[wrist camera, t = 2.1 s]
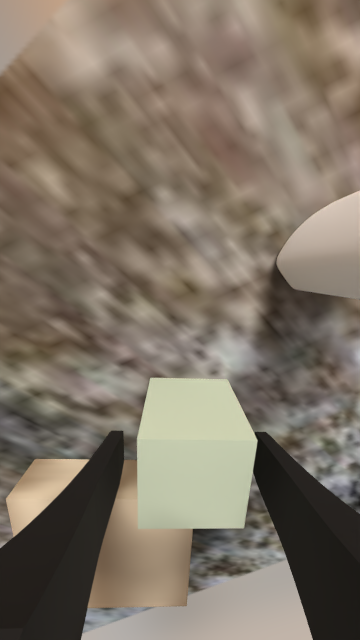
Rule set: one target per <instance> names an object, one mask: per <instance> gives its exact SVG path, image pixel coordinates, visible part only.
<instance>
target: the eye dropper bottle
mask: <svg viewBox="0 0 360 640" xmlns="http://www.w3.org/2000/svg"><path fill="white" fill-rule="evenodd" d="M276 263H277V267H278V269H279V270H280V272H281V274H282V275H283V276H284V278H285V279H286V281H287V282H288V283H289V285H290V286H291V287H292V288H294V289H296V290H301V291H307V292H314V293H320V294H327V295H333V296H340V297H346V298H353V299H360V191H358V192H355V193H353V194H351V195H348V196H346V197H344V198H342V199H339V200H337V201H335V202H333V203H331V204H329V205H328V206H326V207H324V208H322V209H321V210H319V211H318V212H316V213H315V214H313V215H312V216H311V217H310V218H308V219H307V220H306V221H305V222H304V223H303V224H302V225H300V226H299V227H298V229H297V230H296V231H295V232H294V233H293V234H292V235H291V237H290V238H289V239H288V241H287V242H286V243H285V245H284V246H283V248H282V250H281V251H280V253H279V255H278V257H277V262H276Z"/></svg>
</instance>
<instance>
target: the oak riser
mask: <svg viewBox="0 0 360 640" xmlns="http://www.w3.org/2000/svg"><path fill="white" fill-rule="evenodd" d="M88 461H89V460H79V459H35V460H34V461H33V463H32V464H31V466H30V467H29V468H28V470H27V471H26V472H25V474H24V475H23V476H22V478H21V479H20V481H19V482H18V483H17V485H16V486H15V487H14V489H13V490H12V491H11V493H10V494H9V496H8V497H7V498H6V501H7V506H8V511H9V516H10V521H11V526H12V531H13V535H14V536H16V535H17V534H18V533H19V532H20V531H21V530H22V529H24V528H25V527H26V526H27V525H28V524H29V523H30V522H31V521H32V520H33V519H34V518H35V517H37V516H38V515H39V514H40V513H41V512H42V511H43V510H44V509H45V508H46V507H47V506H48V505H49V504H50V503H51V502H52V501H53V500H54V499H55V498H56V497H57V496H58V495H59V494H60V493H61V492H62V491H63V490H64V489H65V488H66V486H67V485H68V484H69V483H70V482H71V481H72V480H73V479H74V477H75V476H76V475H77V474H78V473H79V472H80V471H81V469H82V468H83V467H84V466H85V465H86V463H87V462H88ZM192 533H193V529H138V489H137V460H124V465H123V470H122V475H121V480H120V485H119V488H118V492H117V495H116V499H115V502H114V506H113V509H112V512H111V516H110V519H109V522H108V526H107V529H106V532H105V536H104V539H103V543H102V546H101V550H100V554H99V558H98V563H97V567H96V571H95V576H94V580H93V585H92V589H91V594H90V599H89V603H88V608H113V607H164V606H166V607H167V606H187V595H188V583H189V570H190V558H191V545H192Z"/></svg>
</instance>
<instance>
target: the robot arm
mask: <svg viewBox="0 0 360 640" xmlns="http://www.w3.org/2000/svg"><path fill="white" fill-rule="evenodd" d="M255 436H256V438H257V440H258V441H257V447H256V454H255V460H254V467H253V472H254V476H255V479H256V482H257V485H258V488H259V490H260V492H261V495H262V497H263V500H264V502H265V505H266V507H267V509H268V512H269V514H270V517H271V519H272V521H273V524H274V526H275V529H276V531H277V533H278V536H279V538H280V541H281V543H282V546H283V549H284V551H285V554H286V557H287V560H288V563H289V566H290V569H291V572H292V575H293V578H294V581H295V583H296V587H297V590H298V593H299V596H300V599H301V603H302V606H303V609H304V612H305V615H306V618H307V622H308V625H309V628H310V632H311V635H312V638H313V640H360V514H359V513H357V512H356V511H355V510H353V509H352V508H351V507H349V506H348V505H347V504H345V503H344V502H343V501H342V500H340V499H339V498H338V497H337V496H335V495H334V494H333V493H331V492H330V491H329V490H328V489H327V488H325V487H324V486H323V485H322V484H321V483H320V482H318V481H317V480H316V479H315V478H314V477H313V476H312V475H310V474H309V473H308V472H307V471H306V470H305V469H304V468H303V467H302V466H301V465H299V464H298V463H297V462H296V461H295V460H294V459H293V458H292V457H291V456H290V455H289V454H288V453H287V452H286V451H285V450H284V449H283V448H282V447H281V446H280V445H279V444H278V443H277V442H276V441H275V440H274V439H273V438H272V437H271V436H270V435H269V434H268V433H266V432H255ZM123 465H124V440H123V431H111V432H110V433H109V434H108V436H107V437H106V439H105V440H104V441H103V443H102V444H101V445H100V447H99V448H98V449H97V451H96V452H95V453H94V455H93V456H92V457H91V458H90V460H89V461H88V462H87V463H86V465H85V466H84V467H83V468H82V469H81V471H80V472H79V473H78V474H77V475H76V476H75V477H74V479H73V480H72V481H71V482H70V483H69V484H68V485H67V486H66V488H65V489H64V490H63V491H62V492H61V493H60V494H59V495H58V496H57V497H56V498H55V499H54V500H53V501H52V502H51V503H50V504H49V505H48V506H47V507H46V508H45V509H44V510H43V511H42V512H41V513H40V514H39V515H38V516H37V517H35V518H34V519H33V520H32V521H31V522H30V523H29V524H28V525H27V526H26V527H25V528H24V529H22V530H21V531H20V532H19V533H18V534H17V535H16V536H14V537H13V538H12V539H11V540H10V541H9V542H7V543H6V544H5V545H4V546H3V547H1V548H0V640H81V636H82V631H83V626H84V622H85V617H86V612H87V608H88V603H89V599H90V594H91V589H92V585H93V580H94V576H95V571H96V567H97V563H98V558H99V554H100V550H101V546H102V543H103V539H104V536H105V532H106V529H107V526H108V522H109V519H110V516H111V512H112V509H113V506H114V502H115V499H116V495H117V492H118V488H119V485H120V480H121V475H122V470H123Z"/></svg>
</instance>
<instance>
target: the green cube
mask: <svg viewBox="0 0 360 640" xmlns="http://www.w3.org/2000/svg"><path fill="white" fill-rule="evenodd" d="M257 441H258V440H257V438H256V436H255V434H254V432H253V430H252V428H251V426H250V424H249V422H248V420H247V418H246V416H245V414H244V412H243V410H242V408H241V406H240V404H239V402H238V400H237V398H236V396H235V394H234V392H233V390H232V388H231V386H230V384H229V382H228V380H226V379H181V378H150V382H149V387H148V391H147V396H146V400H145V405H144V410H143V414H142V419H141V423H140V428H139V433H138V437H137V489H138V529H217V528H244V524H245V518H246V511H247V505H248V499H249V492H250V486H251V479H252V473H253V467H254V460H255V454H256V447H257Z"/></svg>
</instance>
